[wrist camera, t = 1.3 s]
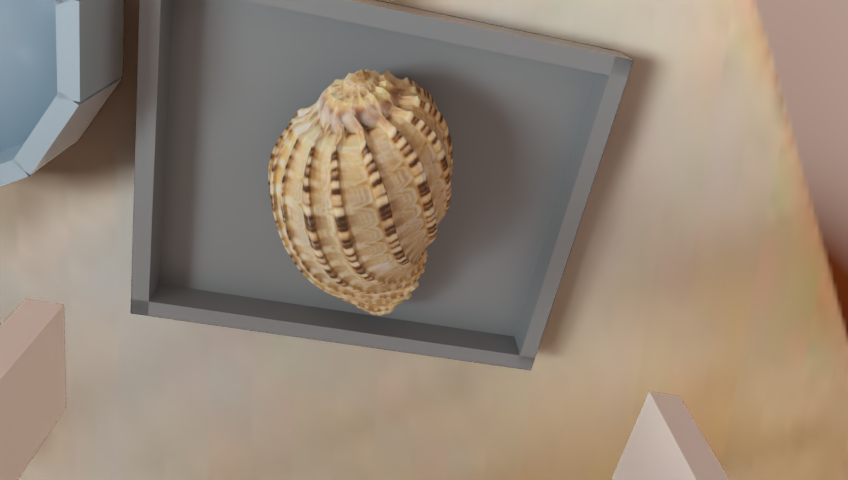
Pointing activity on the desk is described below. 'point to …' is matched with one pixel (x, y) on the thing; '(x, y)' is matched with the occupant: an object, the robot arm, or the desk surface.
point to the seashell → (363, 188)
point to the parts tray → (301, 88)
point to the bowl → (53, 76)
